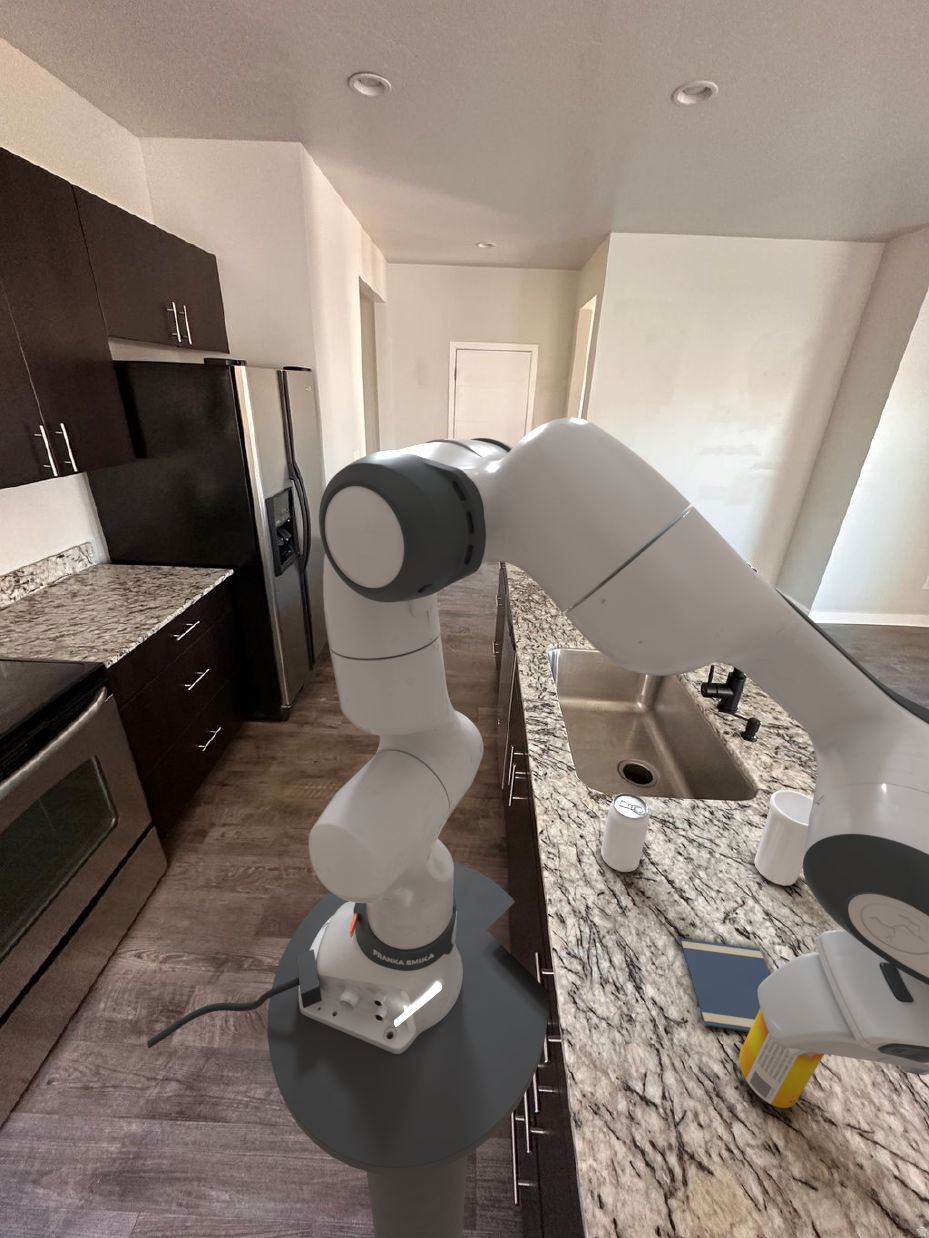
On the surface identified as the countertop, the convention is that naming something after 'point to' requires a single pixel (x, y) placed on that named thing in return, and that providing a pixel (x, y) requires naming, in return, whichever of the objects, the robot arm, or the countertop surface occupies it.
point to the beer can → (774, 1067)
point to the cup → (784, 837)
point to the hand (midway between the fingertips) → (849, 1052)
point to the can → (625, 832)
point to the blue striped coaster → (726, 982)
